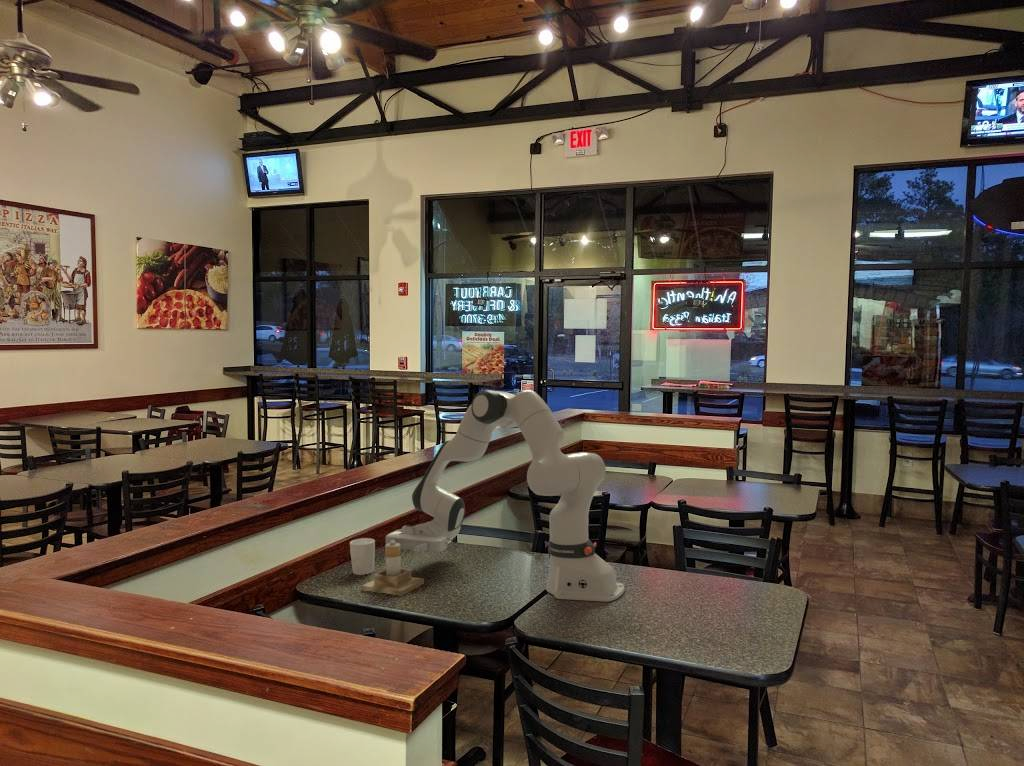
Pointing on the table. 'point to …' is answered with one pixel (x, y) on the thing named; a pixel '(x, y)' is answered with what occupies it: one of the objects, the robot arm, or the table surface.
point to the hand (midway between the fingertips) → (402, 548)
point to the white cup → (362, 555)
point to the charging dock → (393, 583)
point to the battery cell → (393, 559)
